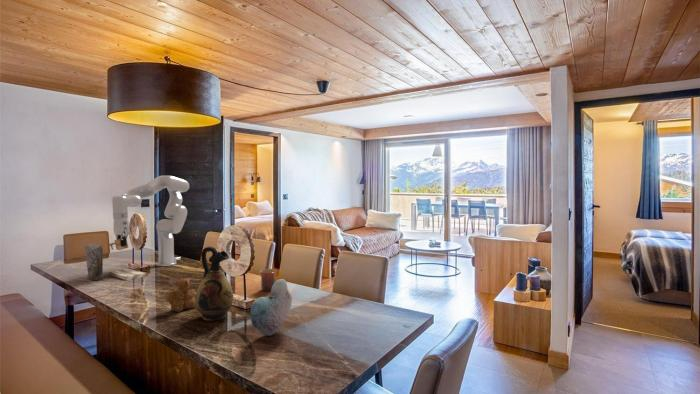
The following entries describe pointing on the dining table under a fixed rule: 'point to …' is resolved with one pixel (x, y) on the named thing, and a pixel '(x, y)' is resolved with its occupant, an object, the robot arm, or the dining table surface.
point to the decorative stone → (271, 309)
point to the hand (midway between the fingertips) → (121, 245)
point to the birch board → (127, 274)
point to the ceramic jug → (214, 288)
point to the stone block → (94, 261)
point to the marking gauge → (118, 245)
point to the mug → (267, 279)
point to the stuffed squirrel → (181, 296)
